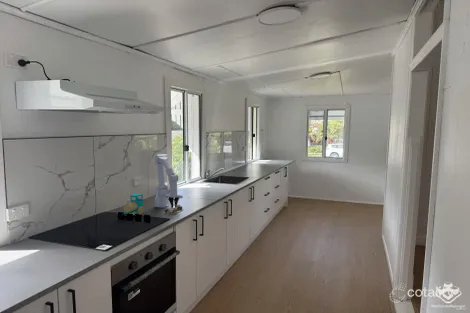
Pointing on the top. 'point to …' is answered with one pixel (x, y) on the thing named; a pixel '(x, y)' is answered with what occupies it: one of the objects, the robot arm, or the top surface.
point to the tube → (173, 208)
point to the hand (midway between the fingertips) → (174, 206)
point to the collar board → (174, 211)
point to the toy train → (134, 205)
